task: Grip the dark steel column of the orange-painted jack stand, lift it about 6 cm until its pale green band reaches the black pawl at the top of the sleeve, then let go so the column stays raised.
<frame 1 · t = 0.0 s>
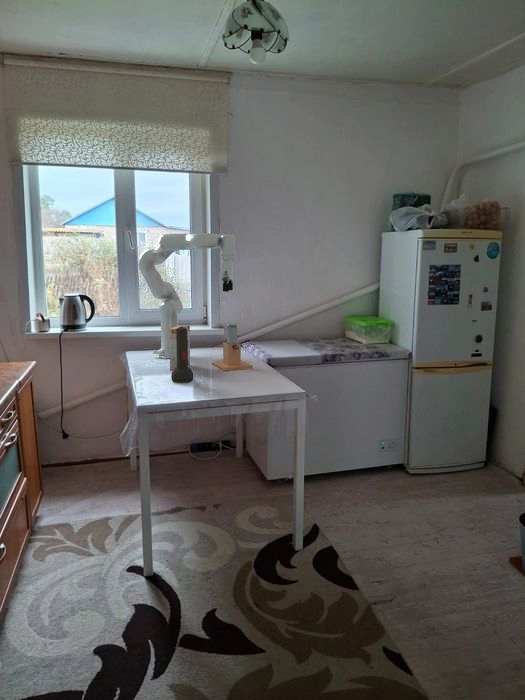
hand: (227, 290, 269), 37 cm above the table, tool pointing down, fingers open, 9 cm apart
steel column: (231, 343, 256), point 12 cm above the table, slide at 0.0 cm
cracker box: (180, 368, 254), on the table
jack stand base: (231, 366, 258), on the table
flashlight: (182, 381, 228), on the table
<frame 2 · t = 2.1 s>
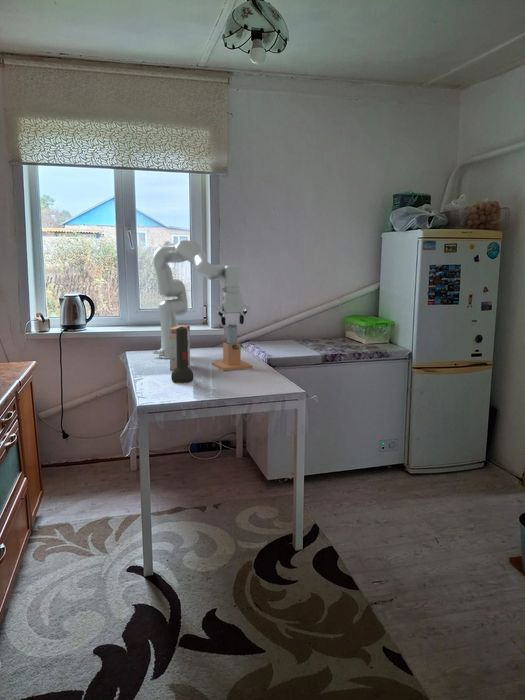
hand: (232, 324, 254), 22 cm above the table, tool pointing down, fingers open, 9 cm apart
nothing on the table moved.
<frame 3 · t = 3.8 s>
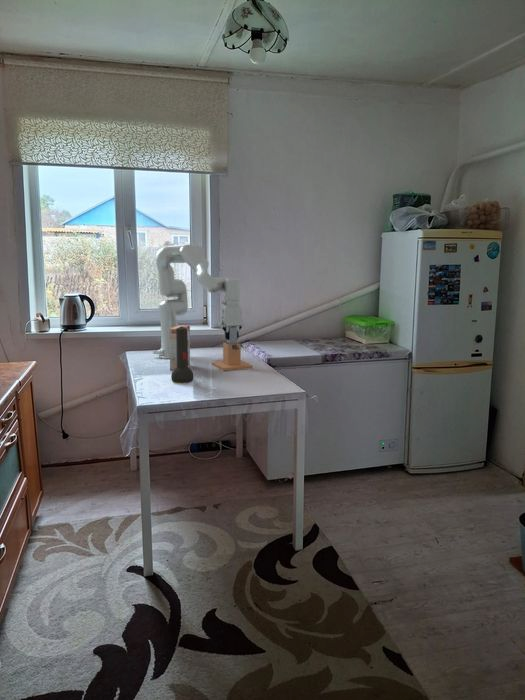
hand: (231, 338, 256), 14 cm above the table, tool pointing down, fingers closed on steel column, 4 cm apart
steel column: (231, 343, 256), point 12 cm above the table, slide at 0.0 cm, touching gripper
everything else where it was.
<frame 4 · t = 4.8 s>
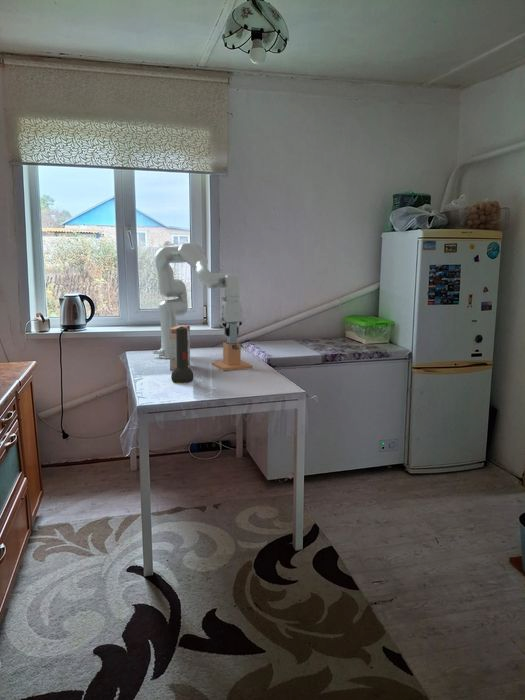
hand: (231, 335, 255), 16 cm above the table, tool pointing down, fingers closed on steel column, 4 cm apart
steel column: (231, 340, 256), point 14 cm above the table, slide at 2.0 cm, touching gripper
everything else where it was.
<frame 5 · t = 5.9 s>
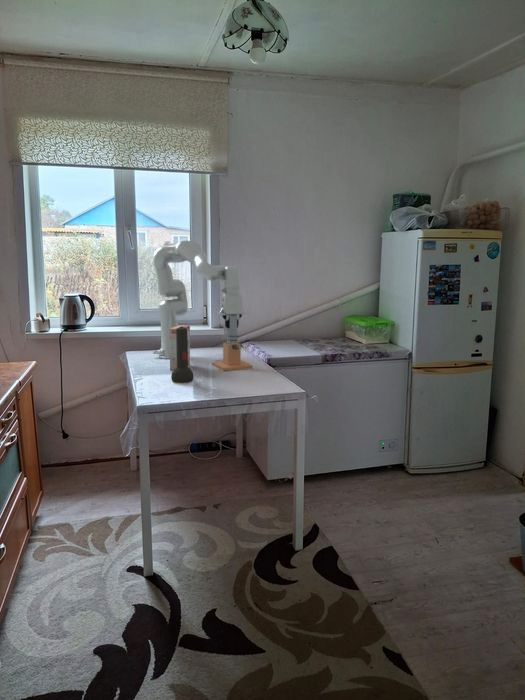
hand: (231, 327, 255), 20 cm above the table, tool pointing down, fingers closed on steel column, 4 cm apart
steel column: (231, 332, 255), point 18 cm above the table, slide at 5.9 cm, touching gripper
everything else where it was.
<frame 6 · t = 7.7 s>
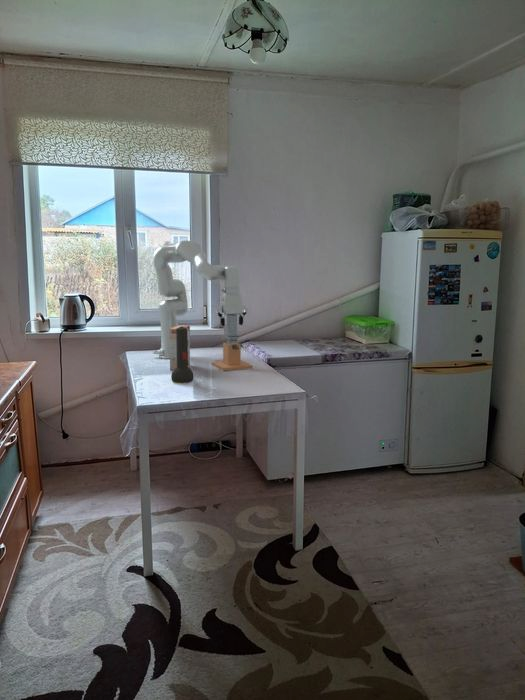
hand: (231, 325, 254), 21 cm above the table, tool pointing down, fingers open, 9 cm apart
steel column: (231, 332, 255), point 18 cm above the table, slide at 5.9 cm
everything else where it was.
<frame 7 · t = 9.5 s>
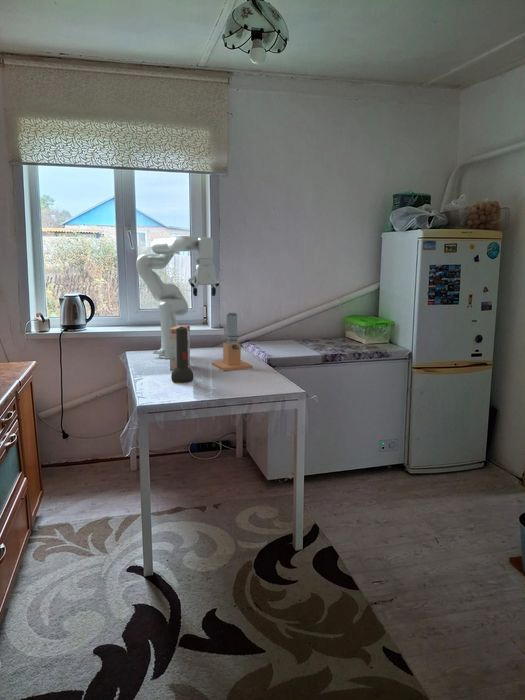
hand: (204, 295, 259), 35 cm above the table, tool pointing down, fingers open, 9 cm apart
nothing on the table moved.
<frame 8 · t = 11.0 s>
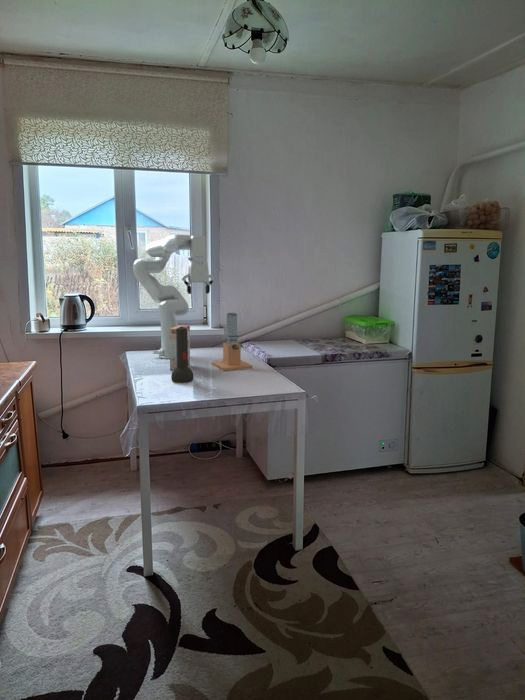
hand: (198, 293, 260), 36 cm above the table, tool pointing down, fingers open, 9 cm apart
nothing on the table moved.
at the end: steel column slide at 5.9 cm; the gripper is holding nothing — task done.
